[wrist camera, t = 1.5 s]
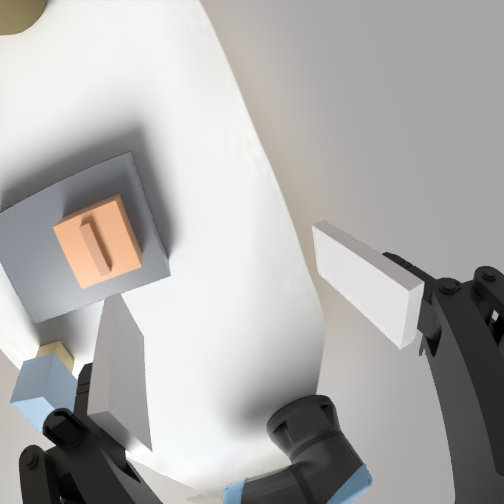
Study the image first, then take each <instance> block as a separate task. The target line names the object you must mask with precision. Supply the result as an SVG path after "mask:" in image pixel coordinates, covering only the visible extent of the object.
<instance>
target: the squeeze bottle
mask: <svg viewBox="0 0 504 504" xmlns="http://www.w3.org/2000/svg"><path fill="white" fill-rule="evenodd" d="M45 4H46V0H0V35H11V34H17V33H20V32H23V31H24V30H26V29H28V28H29V27H31V26H32V25H33V24H34V23H35V22H36V21H37V20H38V19H39V17H40V15H41V14H42V12H43V11H44V7H45Z"/></svg>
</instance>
